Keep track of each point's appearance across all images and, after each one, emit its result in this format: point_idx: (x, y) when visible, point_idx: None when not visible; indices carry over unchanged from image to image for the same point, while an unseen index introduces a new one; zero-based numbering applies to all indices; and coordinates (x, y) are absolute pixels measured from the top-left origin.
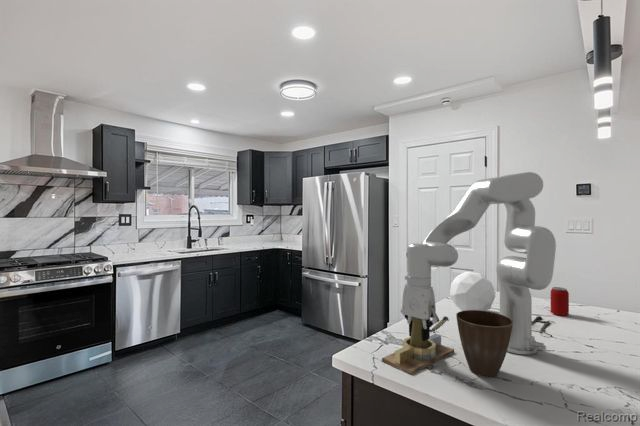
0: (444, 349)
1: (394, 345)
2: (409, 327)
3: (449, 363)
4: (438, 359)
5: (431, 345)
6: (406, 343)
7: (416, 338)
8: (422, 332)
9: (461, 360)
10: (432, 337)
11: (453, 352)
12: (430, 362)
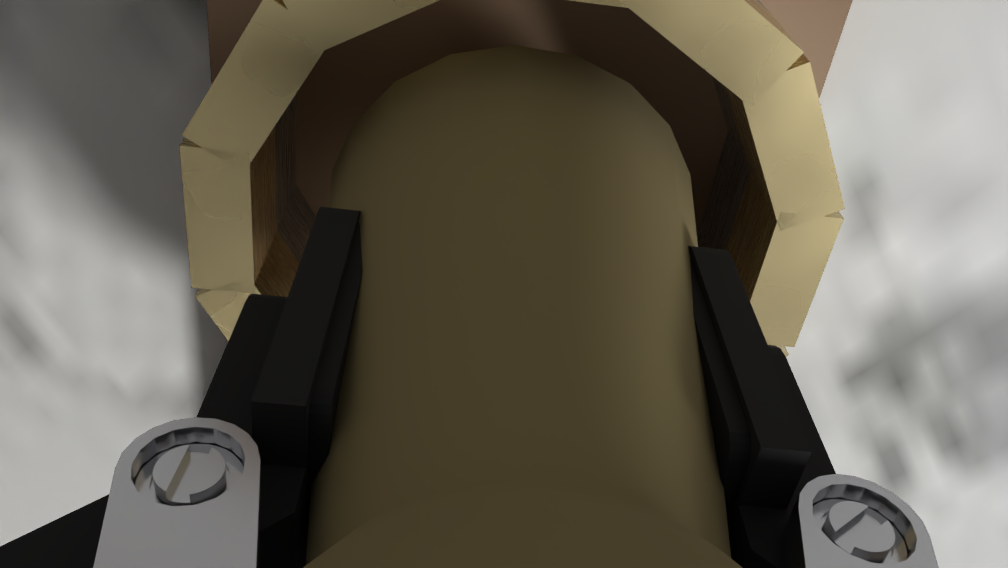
0: None
1: (1001, 239)
2: (776, 383)
3: (79, 225)
4: None
5: None
6: (710, 44)
7: (478, 169)
8: (309, 322)
9: (51, 393)
10: None
11: None
12: (212, 2)
